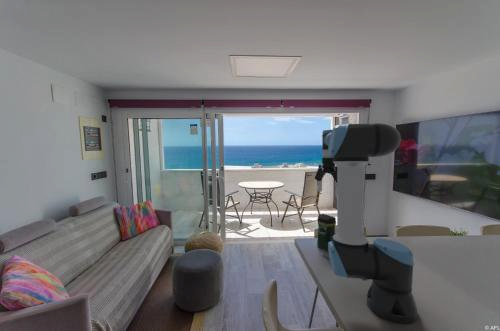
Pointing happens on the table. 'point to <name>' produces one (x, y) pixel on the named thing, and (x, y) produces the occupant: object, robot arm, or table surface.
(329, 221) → the coffee jar
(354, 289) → the table surface
